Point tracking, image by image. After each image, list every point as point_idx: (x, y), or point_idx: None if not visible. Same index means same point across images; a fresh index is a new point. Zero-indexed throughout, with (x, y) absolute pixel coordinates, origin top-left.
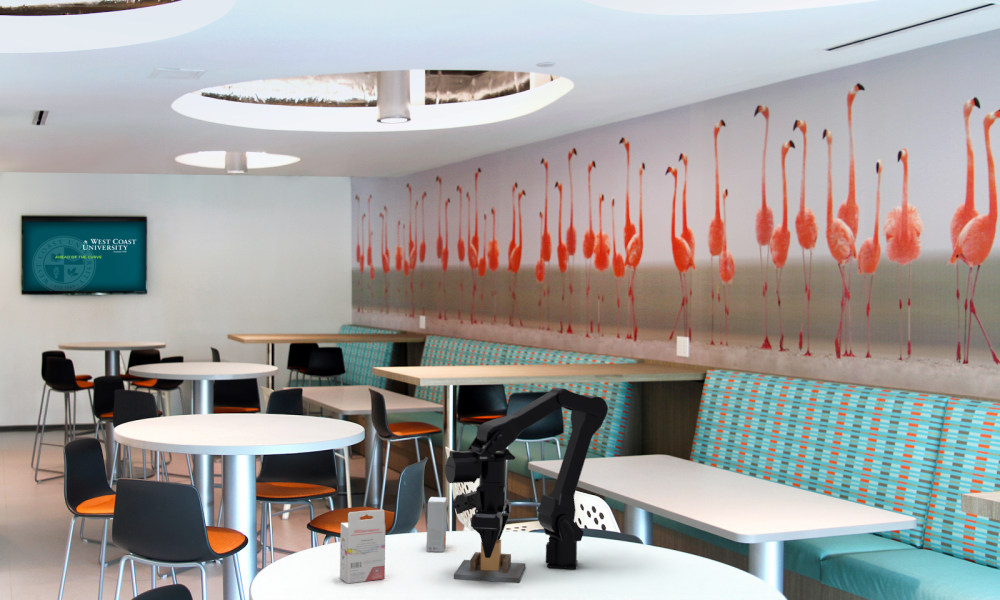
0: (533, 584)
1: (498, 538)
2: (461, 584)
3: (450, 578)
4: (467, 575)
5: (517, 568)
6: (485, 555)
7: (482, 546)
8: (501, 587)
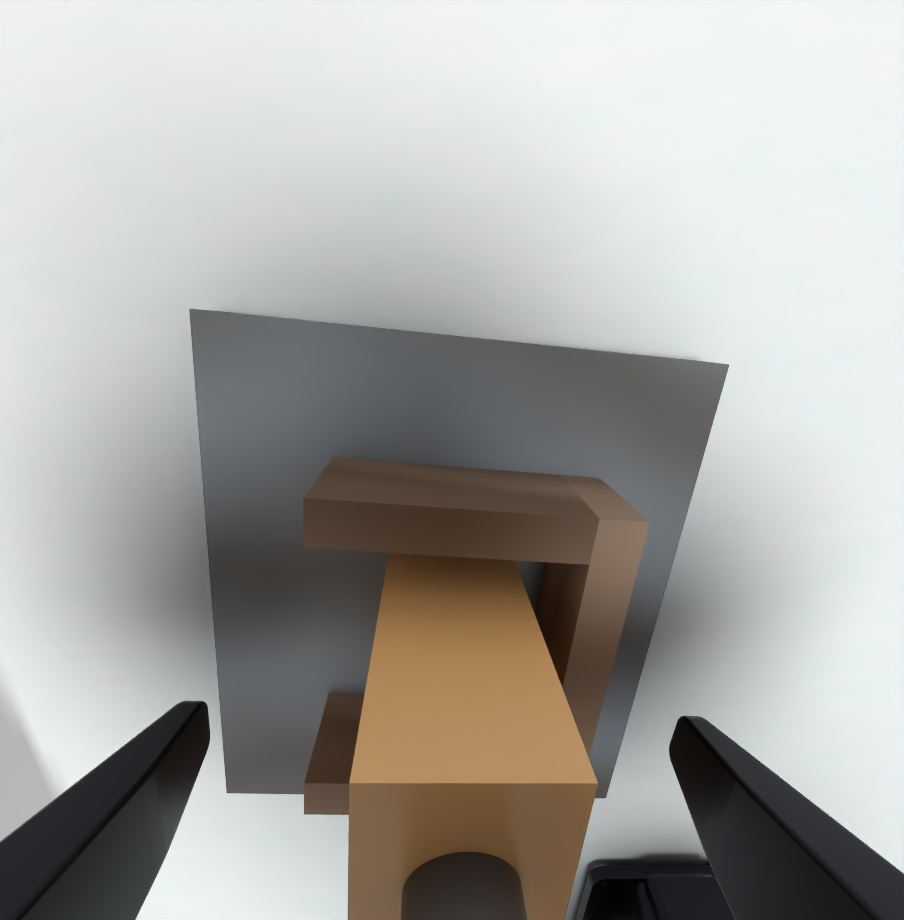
0: (234, 825)
1: (732, 893)
2: (64, 397)
3: (222, 277)
4: (204, 443)
5: None
6: (156, 725)
7: (360, 729)
8: (99, 678)
